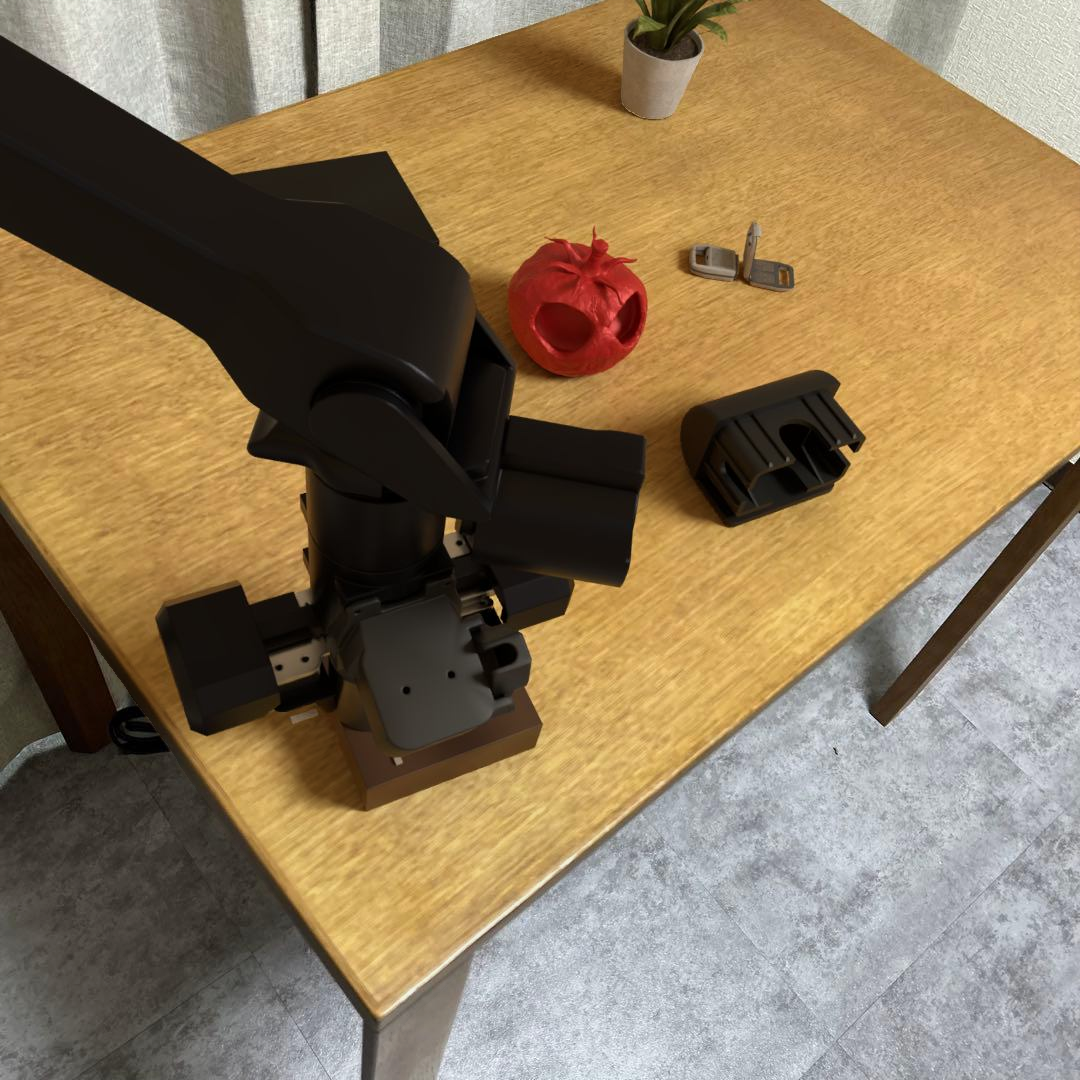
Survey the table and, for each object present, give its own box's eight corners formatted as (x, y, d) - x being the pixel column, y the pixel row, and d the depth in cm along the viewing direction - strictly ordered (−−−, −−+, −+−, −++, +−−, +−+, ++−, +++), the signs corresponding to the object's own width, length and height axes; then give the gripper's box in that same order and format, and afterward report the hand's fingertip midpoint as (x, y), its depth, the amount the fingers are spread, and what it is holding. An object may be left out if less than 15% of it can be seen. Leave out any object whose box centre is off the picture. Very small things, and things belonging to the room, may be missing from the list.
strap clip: (687, 275, 87) (702, 233, 84) (688, 250, 89) (702, 207, 86) (792, 294, 88) (811, 253, 84) (791, 269, 90) (809, 227, 86)
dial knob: (316, 672, 59) (315, 621, 55) (393, 647, 61) (398, 596, 56) (344, 743, 57) (345, 696, 53) (423, 715, 59) (430, 667, 54)
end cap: (782, 416, 80) (815, 349, 74) (840, 489, 77) (878, 425, 71) (667, 454, 76) (692, 386, 71) (721, 532, 73) (753, 468, 67)
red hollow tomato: (487, 299, 82) (503, 196, 75) (614, 291, 85) (641, 191, 77) (519, 399, 77) (539, 299, 69) (653, 387, 80) (686, 289, 72)
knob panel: (324, 828, 58) (323, 805, 55) (264, 669, 62) (261, 640, 60) (535, 747, 62) (544, 723, 59) (465, 604, 67) (470, 576, 64)
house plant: (691, 182, 94) (750, -4, 81) (546, 121, 96) (580, -70, 83) (744, 103, 102) (805, -78, 89) (609, 48, 104) (650, -137, 91)
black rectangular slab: (184, 323, 76) (177, 279, 73) (140, 213, 82) (132, 168, 79) (442, 271, 83) (447, 229, 80) (385, 173, 89) (387, 130, 86)
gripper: (208, 762, 39) (241, 900, 51) (661, 604, 45) (592, 760, 58) (128, 520, 44) (175, 699, 57) (545, 410, 51) (505, 592, 63)
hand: (369, 690), depth 59 cm, fingers closed on dial knob, 4 cm apart
